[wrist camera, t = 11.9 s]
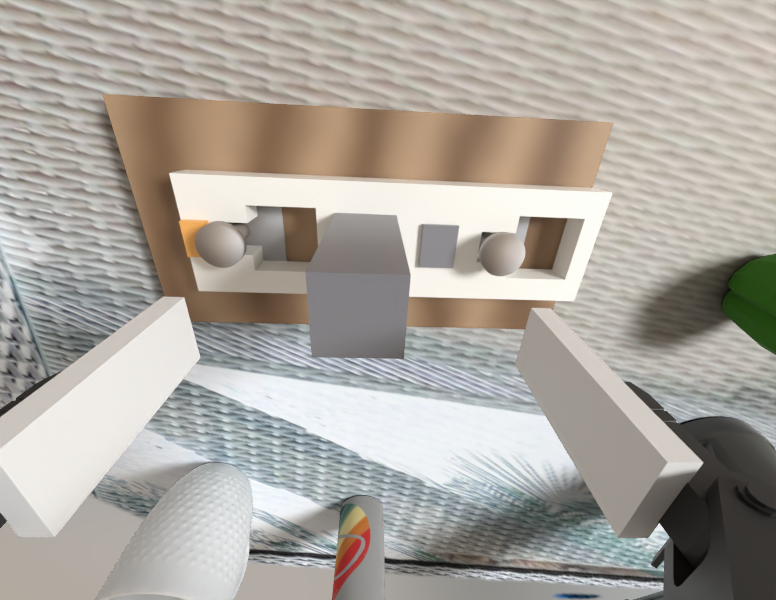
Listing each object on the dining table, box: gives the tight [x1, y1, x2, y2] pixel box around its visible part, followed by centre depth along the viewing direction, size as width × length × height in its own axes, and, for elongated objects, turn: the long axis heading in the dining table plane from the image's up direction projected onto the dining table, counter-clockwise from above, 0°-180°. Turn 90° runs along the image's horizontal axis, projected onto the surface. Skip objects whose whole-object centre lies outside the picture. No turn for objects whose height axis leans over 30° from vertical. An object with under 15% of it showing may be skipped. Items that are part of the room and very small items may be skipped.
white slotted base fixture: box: [169, 170, 612, 359], centre depth 19 cm, size 28×8×12 cm, turn 87°
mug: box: [95, 462, 253, 600], centre depth 35 cm, size 15×11×13 cm
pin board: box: [102, 94, 613, 329], centre depth 23 cm, size 32×16×6 cm, turn 87°
